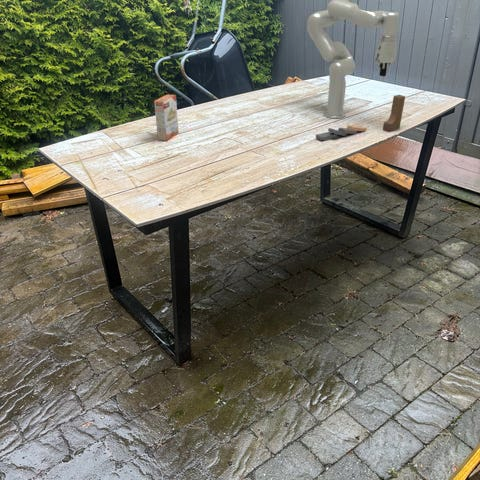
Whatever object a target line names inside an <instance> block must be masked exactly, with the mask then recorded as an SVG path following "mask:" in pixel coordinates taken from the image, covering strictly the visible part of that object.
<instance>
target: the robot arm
mask: <svg viewBox="0 0 480 480" xmlns="http://www.w3.org/2000/svg"><path fill="white" fill-rule="evenodd" d="M326 6H327V7H326V10H321V11H316V12H314V13H312V14H311V15H310V16H309V17H308V19H307V22H306V23H307V24H306V29H307V33H308V35H309V37H310V39H311V40H312V42H313V43H314V44H315V46H316V48H317V49H318V51H319V54H320V55H321V57H322V58H323V60H324V61H326V62H332V63H331V64H330V66H329V69H328V76H329V83H328V84H329V85H328V95H327V97H328V98H327V105H326V106H324V109H325V111H324V113H323V115H324V117H325V118H329V119H343V118H345V117H346V113H345V112H344V106H345V97H346V89H347V85H346V83H347V81H346V76H349V75H351V74H353V73H354V72H355V69H356V63H355V60H354V58H353V56H352V55H351V54H350V53H351V52H350V51H349V50H348V48H347V46H346V45H345V44H344V43H342V42H340V41H334V42H333V41H332V39H331V37H330V36H329V34H328V33H327V32H326V31H325V30H324V29H323V28H327V27H331V26H332V25H334V24H335V23H336V22H338V21H340V20H341V19H342V20H345V21H347V22H348V21H349V22H351V23H352V24H354V25H356V26H358V27H362V28H366V29H374V28H378V27H381V32H380V33H381V34H380V37H379V43H378V45H377V49H376V53H375V65H376V66H379V68H380V69H379V76H380V77H386V75H387V71H388V70H387V69H388V68H389V66H390V65H392V64H393V63H394V62H395V61H396V57H397V50H398V48H397V47H398V46H397V45H398V44H397V41H396V40H397V33H398V28H399V27H398V26H399V19H400V13H399V12H396V11H386V10H375V11H368V10H365V9H364V10H363V9H361V8H360V7H359V4H357V3H354V2H350V1H349V0H330V1H329V2H328V4H327V5H326ZM333 61H334V62H333Z"/></svg>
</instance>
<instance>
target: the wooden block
mask: <svg viewBox="0 0 480 480" xmlns="http://www.w3.org/2000/svg"><path fill="white" fill-rule="evenodd" d="M405 100H406V96H405V95H402V94H396V95H393V98H392V103H391V110H390V114H389V115H390V116H389V118H388V119H387V120H385V121H384V122H383V126H382V131H386V132H387V133H388V132H393V131H397V130H400V129H401V123H402V118H403V112H404V106H405Z"/></svg>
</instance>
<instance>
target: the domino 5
mask: <svg viewBox="0 0 480 480" xmlns="http://www.w3.org/2000/svg"><path fill="white" fill-rule="evenodd" d="M346 128H348V129H351V130H353V131H357V132H367V127H365V126H364V127H363V126H362V125H361V126H360V125H353V124H352V125H351V124H348V125H347V126H346Z"/></svg>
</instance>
